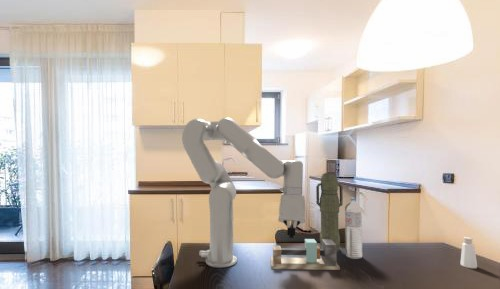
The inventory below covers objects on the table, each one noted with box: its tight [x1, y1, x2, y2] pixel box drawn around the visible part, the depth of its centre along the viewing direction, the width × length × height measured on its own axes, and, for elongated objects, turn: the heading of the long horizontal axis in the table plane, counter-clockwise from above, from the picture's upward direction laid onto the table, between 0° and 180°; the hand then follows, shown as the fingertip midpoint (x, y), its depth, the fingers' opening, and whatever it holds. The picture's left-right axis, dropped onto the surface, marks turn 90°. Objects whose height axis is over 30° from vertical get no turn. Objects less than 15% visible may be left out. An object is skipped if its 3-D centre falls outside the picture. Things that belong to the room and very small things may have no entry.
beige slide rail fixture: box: [269, 239, 341, 271], centre depth 108 cm, size 26×9×9 cm, turn 88°
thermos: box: [315, 172, 344, 253], centre depth 126 cm, size 9×12×35 cm
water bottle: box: [344, 197, 363, 260], centre depth 117 cm, size 7×7×25 cm
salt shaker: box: [459, 236, 478, 269], centre depth 107 cm, size 5×5×11 cm
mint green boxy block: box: [304, 238, 318, 262], centre depth 108 cm, size 4×5×8 cm
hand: (291, 237), depth 108 cm, fingers closed
